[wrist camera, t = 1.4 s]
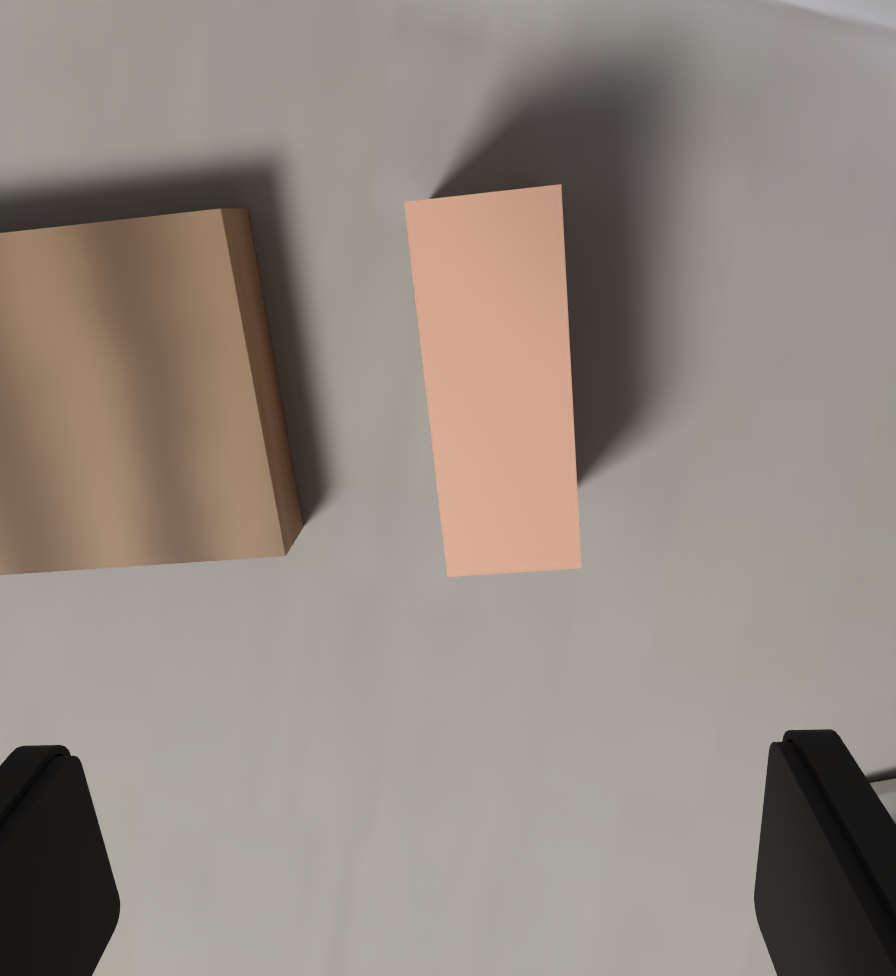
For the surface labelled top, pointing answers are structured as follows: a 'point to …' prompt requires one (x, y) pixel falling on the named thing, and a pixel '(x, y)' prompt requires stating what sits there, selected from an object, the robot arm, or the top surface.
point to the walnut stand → (139, 397)
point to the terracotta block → (498, 377)
